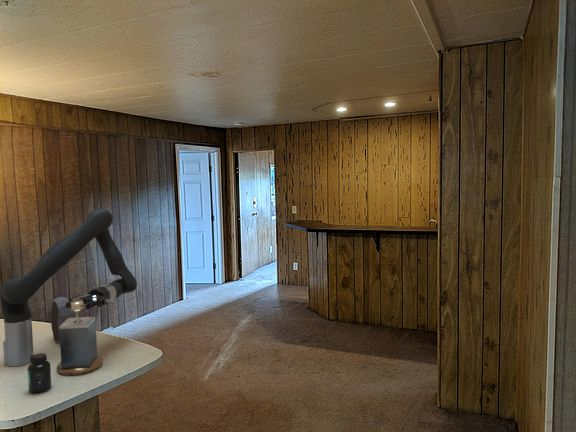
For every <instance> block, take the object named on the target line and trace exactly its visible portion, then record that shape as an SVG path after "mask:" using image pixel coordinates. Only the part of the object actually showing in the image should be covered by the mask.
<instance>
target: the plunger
mask: <svg viewBox="0 0 576 432" xmlns="http://www.w3.org/2000/svg"><path fill="white" fill-rule="evenodd" d="M84 307H85V305H84V303H83V301H82V300H81V301H73V302H71V311H73V312H74V313H75V318H76V322H80V312H81V311H84V309H85V308H84Z"/></svg>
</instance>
